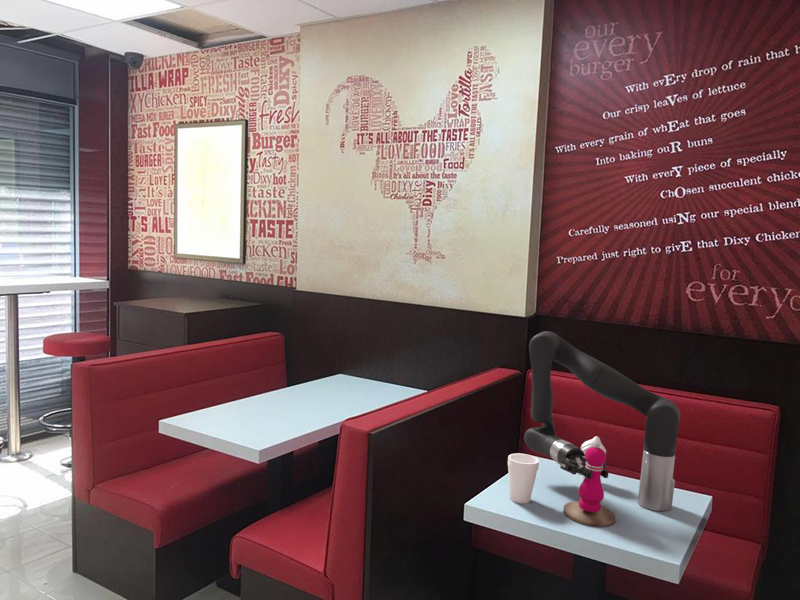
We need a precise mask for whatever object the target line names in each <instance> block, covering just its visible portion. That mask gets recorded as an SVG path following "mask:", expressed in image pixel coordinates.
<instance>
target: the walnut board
mask: <svg viewBox="0 0 800 600" xmlns="http://www.w3.org/2000/svg"><path fill="white" fill-rule="evenodd" d="M562 511H563V515H564V516H565V517H567V519H568V520H570V521H573V522H574V523H577V524H580V525H584V526H587V525H588V526H587V527H593V526H594V528H595V527H596V528H604V527H606V528H607V527H610V526H613V525H614V524H615V523H616V520H617V515H616V513H615V512H614V511H613V510H611V509H610V508H608V507H606V506H604V505H601V510H600V511H599V512H589V511H585V510H583V509H581V508H580V507H579V500H578V501H569V502H566V504H564V505H563V510H562Z"/></svg>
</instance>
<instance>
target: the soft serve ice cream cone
mask: <svg viewBox="0 0 800 600" xmlns="http://www.w3.org/2000/svg"><path fill="white" fill-rule="evenodd" d="M596 442H597V443H599V444H600V447H599V448H601V449H602V450H604V452H605V454H606V455H607V449H606V447H604V445H603V443H602V441H601V439H600V437H599V436H594V437H593V438H592V439H588V440H586V441H584V442H583V443H581V446H580V449H581V450H582V451H583V452H584V454H585V452H586V450H587V449H588V448H590V447H594V443H596ZM584 479H585V476H583V475H582V480H584Z"/></svg>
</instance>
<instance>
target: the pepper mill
mask: <svg viewBox="0 0 800 600" xmlns="http://www.w3.org/2000/svg"><path fill="white" fill-rule="evenodd" d="M599 447H600V444H599V443H597V442H596V443H594V447H590V448H588V449H587V450H586V452H585V459H586V460H587V462H586V466H585V467H586V468H587V469H588V470H590V471H591V472H592V478H591V479H588V478H586V477H585V479H584V480H583V479H582V480H583V481H582V482H581V483H580V486H579V488H578V496H579V497H580V499H579V500H578V501H579V507H580V508H581V509H583V510H585V511H589V512H599V511H600V510H601V506H602V503H601V502H602V501H603V500H604V497H605V492H604V487H603V483H602V480H601V477H602V476H601V471H602V470H603V463H606V461H607V453H606V454H605V452H604V450H602V449H601V448H599Z"/></svg>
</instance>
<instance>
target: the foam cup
mask: <svg viewBox="0 0 800 600" xmlns="http://www.w3.org/2000/svg"><path fill="white" fill-rule="evenodd" d="M539 466H540V459H539V458H537V457H536V456H534V455H530V454H526V453H520V452H518V453H511V454H509V455H508V457H507V469H508V470H507V471H508V493H509V494H508V495H509V500H510V501H512V502H513V501H514V502H513V503H516V502H517V504H523V503H524V504H529V503H530V502H531V499H532V493H533V491H534V486H535V482H536V479H537V477H536V476H537V473H538V470H539ZM528 502H529V503H528Z"/></svg>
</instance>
